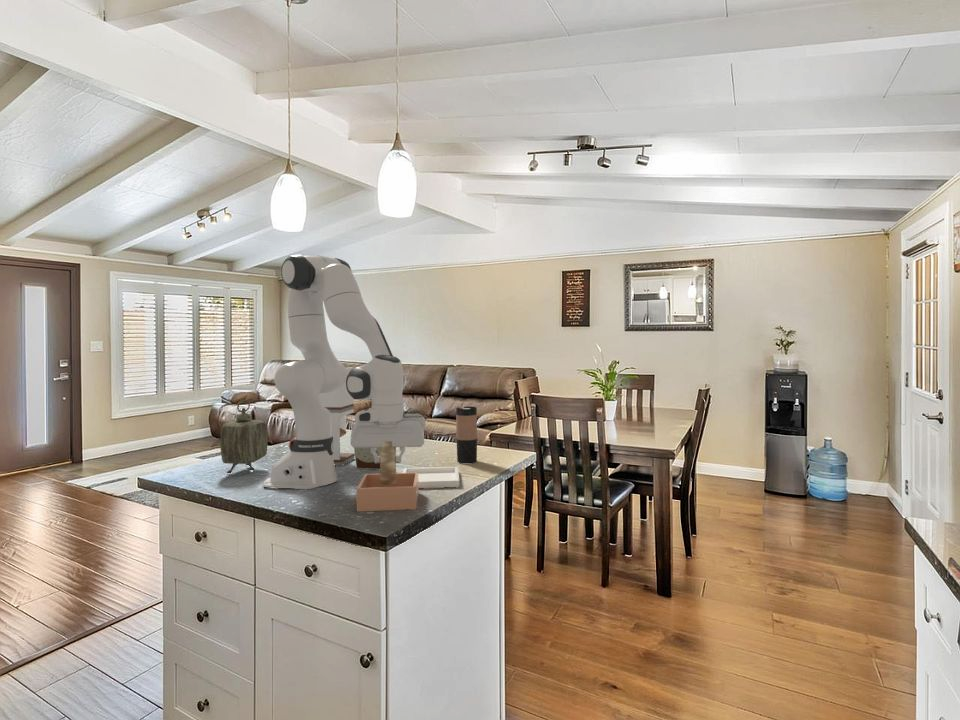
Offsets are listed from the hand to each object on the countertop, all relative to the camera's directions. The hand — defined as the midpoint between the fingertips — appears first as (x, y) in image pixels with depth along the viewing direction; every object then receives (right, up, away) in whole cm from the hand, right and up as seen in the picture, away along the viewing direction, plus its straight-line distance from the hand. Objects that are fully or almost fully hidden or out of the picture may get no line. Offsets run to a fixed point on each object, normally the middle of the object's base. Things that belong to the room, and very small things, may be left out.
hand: (388, 462), depth 150 cm
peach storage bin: (0, -11, 0) cm, 11 cm away
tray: (+10, -10, +22) cm, 26 cm away
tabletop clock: (-55, -10, +36) cm, 67 cm away
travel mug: (+21, -9, +48) cm, 53 cm away
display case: (-28, -9, +50) cm, 58 cm away
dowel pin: (0, -6, 0) cm, 6 cm away
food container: (-13, -10, +41) cm, 44 cm away
